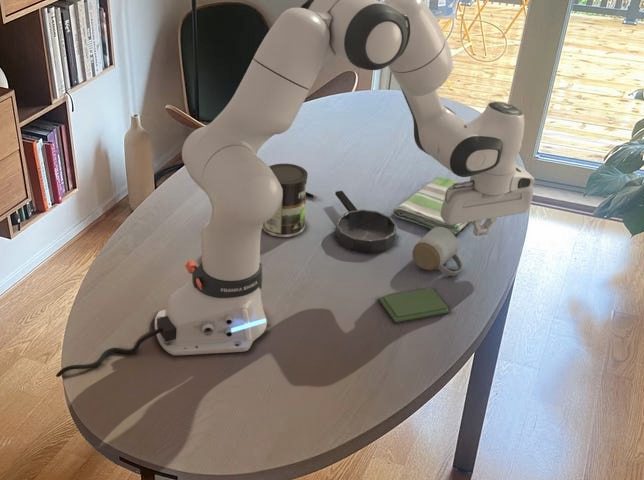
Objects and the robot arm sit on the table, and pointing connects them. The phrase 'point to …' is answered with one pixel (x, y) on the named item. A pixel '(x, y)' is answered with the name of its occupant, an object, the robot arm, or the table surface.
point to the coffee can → (289, 201)
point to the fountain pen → (310, 195)
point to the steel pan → (364, 229)
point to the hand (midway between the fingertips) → (480, 233)
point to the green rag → (413, 305)
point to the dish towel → (428, 206)
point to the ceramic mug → (437, 251)
